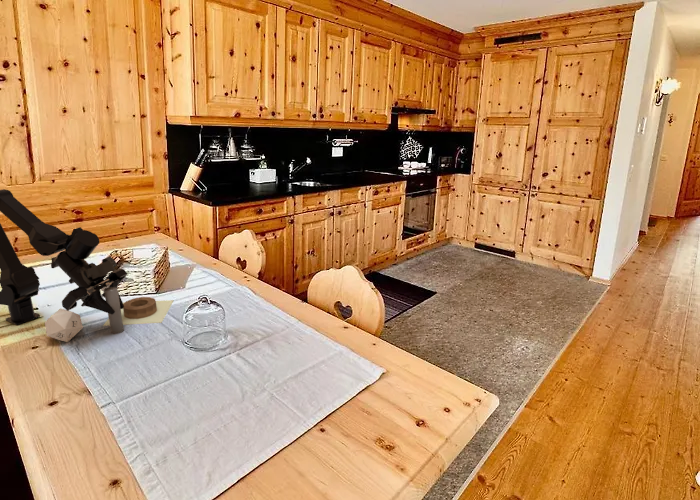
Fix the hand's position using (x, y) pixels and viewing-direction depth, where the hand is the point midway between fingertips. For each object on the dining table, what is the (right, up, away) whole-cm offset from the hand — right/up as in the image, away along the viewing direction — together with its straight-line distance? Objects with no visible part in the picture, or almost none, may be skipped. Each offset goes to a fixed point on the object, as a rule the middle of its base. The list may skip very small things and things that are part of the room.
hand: (118, 310), depth 122 cm
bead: (0, -2, +14) cm, 14 cm away
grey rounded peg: (-1, -6, +2) cm, 7 cm away
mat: (0, -3, +14) cm, 14 cm away
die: (-14, -7, -1) cm, 16 cm away
